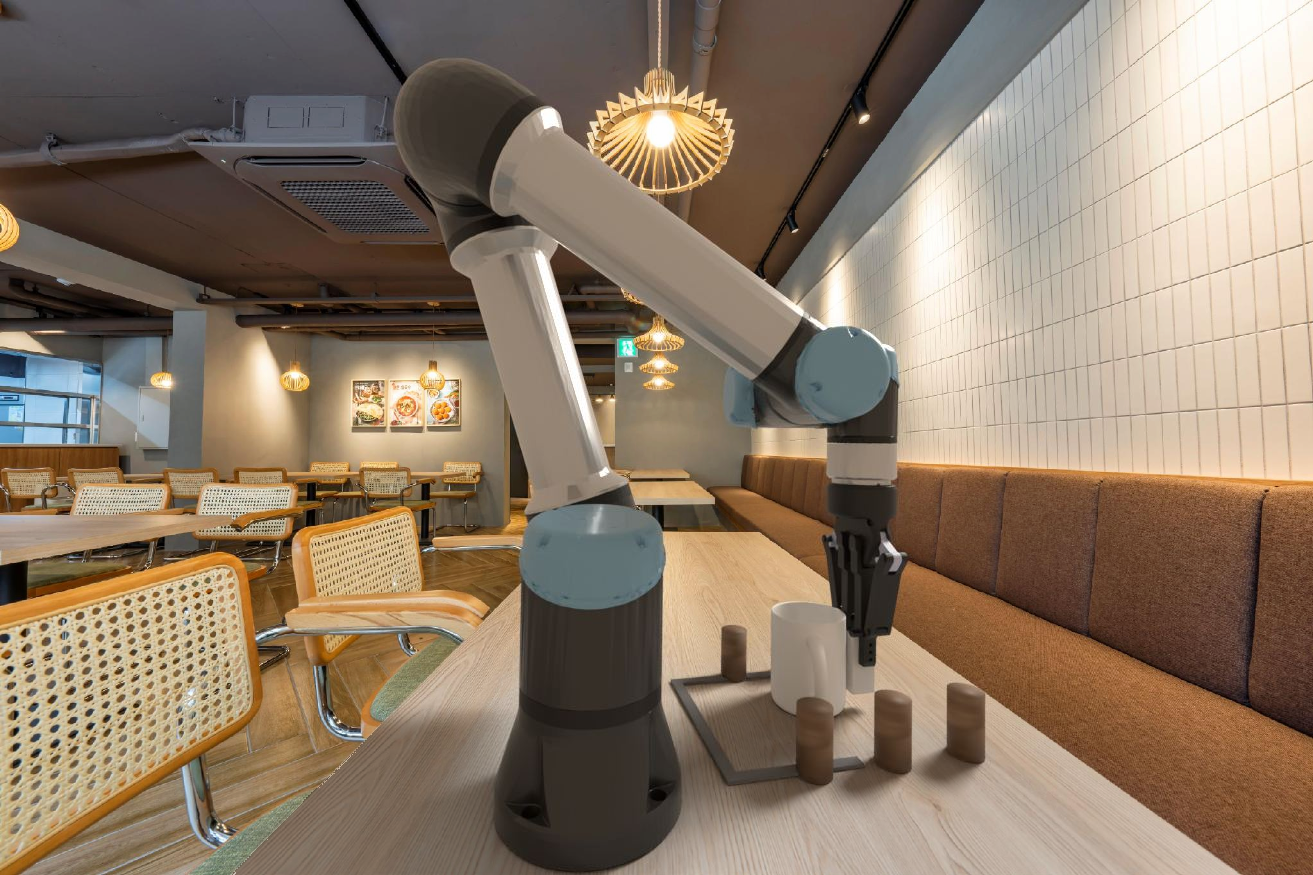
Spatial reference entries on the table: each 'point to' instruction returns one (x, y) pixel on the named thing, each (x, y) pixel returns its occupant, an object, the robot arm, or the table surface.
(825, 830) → the table surface
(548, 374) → the robot arm
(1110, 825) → the table surface
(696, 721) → the frame
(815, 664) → the mug
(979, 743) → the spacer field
